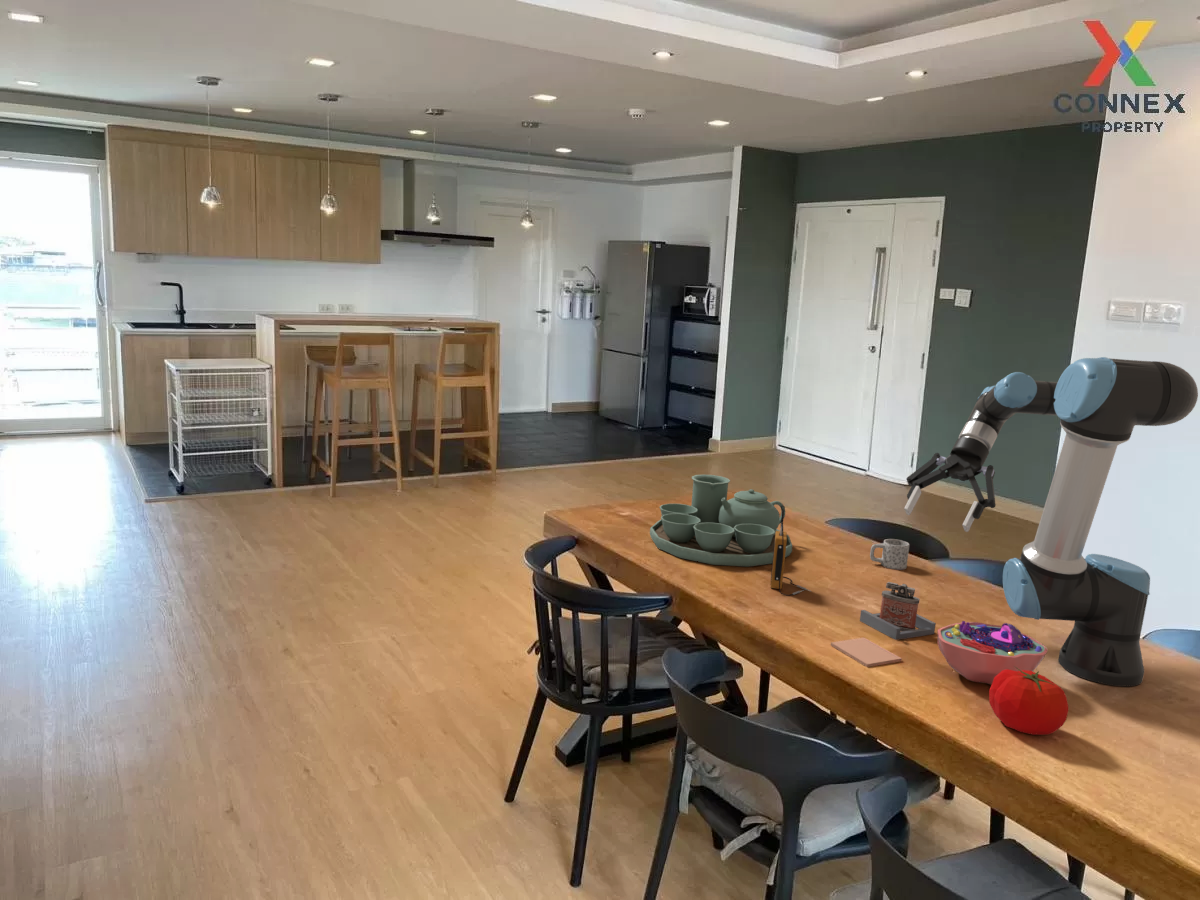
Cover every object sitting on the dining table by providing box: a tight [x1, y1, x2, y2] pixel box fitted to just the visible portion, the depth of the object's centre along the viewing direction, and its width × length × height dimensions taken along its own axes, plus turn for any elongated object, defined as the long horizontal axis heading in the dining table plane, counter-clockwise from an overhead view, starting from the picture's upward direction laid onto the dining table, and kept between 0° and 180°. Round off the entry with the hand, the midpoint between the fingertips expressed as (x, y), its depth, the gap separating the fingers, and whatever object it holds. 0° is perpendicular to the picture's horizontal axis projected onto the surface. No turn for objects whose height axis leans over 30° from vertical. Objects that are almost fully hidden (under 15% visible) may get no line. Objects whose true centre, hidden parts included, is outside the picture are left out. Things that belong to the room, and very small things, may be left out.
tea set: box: [649, 474, 793, 568], centre depth 249 cm, size 40×40×16 cm
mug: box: [869, 538, 910, 571], centre depth 240 cm, size 10×7×7 cm
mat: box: [830, 637, 903, 668], centre depth 181 cm, size 11×9×1 cm
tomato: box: [988, 666, 1069, 736], centre depth 152 cm, size 11×13×10 cm
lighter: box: [879, 581, 920, 632], centre depth 195 cm, size 8×3×10 cm, turn 58°
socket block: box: [859, 609, 937, 641], centre depth 196 cm, size 11×11×2 cm
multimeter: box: [770, 504, 811, 597], centre depth 217 cm, size 15×10×20 cm
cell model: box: [937, 620, 1048, 685], centre depth 171 cm, size 17×20×11 cm
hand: (935, 520), depth 198 cm, fingers open, 13 cm apart
